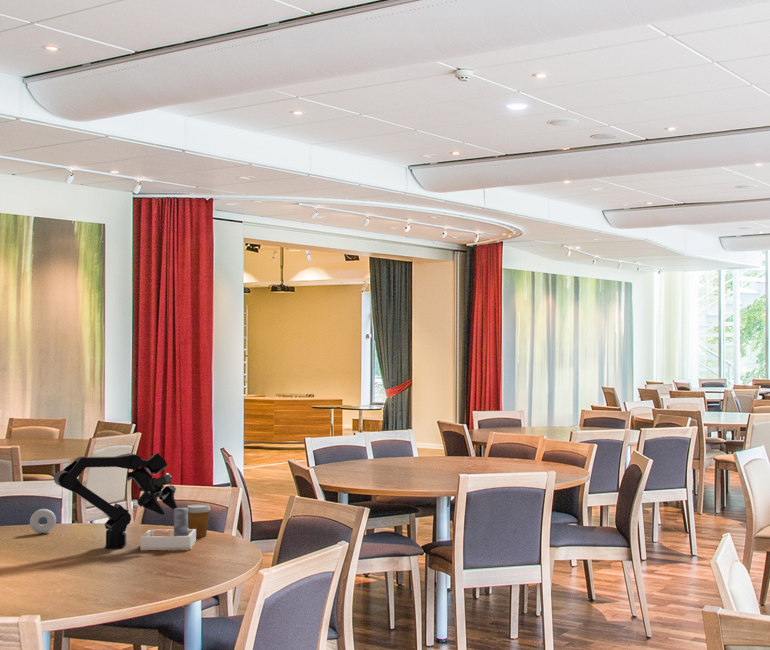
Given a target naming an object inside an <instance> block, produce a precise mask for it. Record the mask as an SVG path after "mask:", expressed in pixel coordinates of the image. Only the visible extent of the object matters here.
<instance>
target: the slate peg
mask: <svg viewBox="0 0 770 650" xmlns="http://www.w3.org/2000/svg"><path fill="white" fill-rule="evenodd" d="M173 522H174V523H173V529H174V536H188V529H189V528H188V527H189V522H188V508H187V507H177V508H175V509H174V510H173Z"/></svg>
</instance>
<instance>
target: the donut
mask: <svg viewBox="0 0 770 650" xmlns="http://www.w3.org/2000/svg"><path fill="white" fill-rule="evenodd" d="M41 518H46V523H45V524H43V525H42V524H40V522H39V521H40V519H41ZM56 524H57V516H56V515H55V513H54V512H53V511H52V510H50V509H48V508H40V509H38V510H36V511H34V512H33V514H31V517H30V519H29V527H30V528H31V530H32V531H33V532H34V533H37V534H41V533H43V534H48V533H49V532H50V531H52V530H53V529H54V528H55V525H56Z"/></svg>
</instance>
